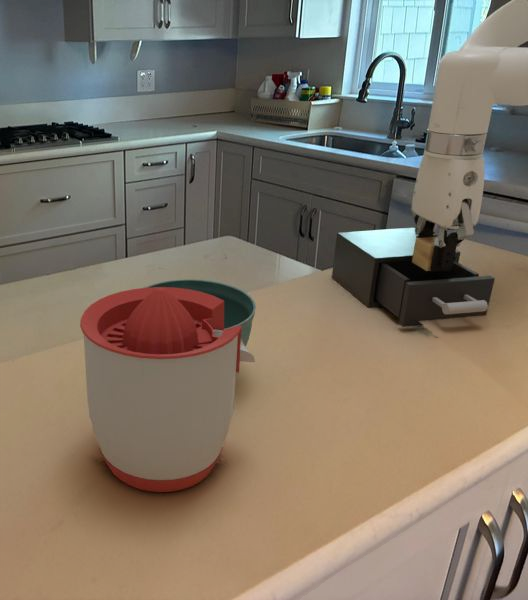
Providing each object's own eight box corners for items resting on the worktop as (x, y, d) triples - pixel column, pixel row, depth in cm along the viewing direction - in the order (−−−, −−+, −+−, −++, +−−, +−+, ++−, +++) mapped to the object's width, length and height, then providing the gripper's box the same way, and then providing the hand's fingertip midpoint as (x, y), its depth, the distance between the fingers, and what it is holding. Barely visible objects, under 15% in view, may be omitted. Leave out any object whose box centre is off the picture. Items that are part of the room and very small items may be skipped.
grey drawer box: (450, 300, 102) (460, 252, 99) (367, 307, 100) (375, 258, 97) (406, 271, 115) (413, 227, 111) (331, 277, 113) (336, 232, 109)
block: (435, 260, 97) (440, 236, 95) (451, 269, 93) (456, 244, 91) (411, 262, 96) (416, 237, 95) (426, 271, 93) (431, 246, 91)
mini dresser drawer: (504, 332, 90) (515, 289, 87) (419, 340, 88) (427, 296, 85) (436, 288, 105) (444, 250, 102) (362, 294, 103) (367, 256, 100)
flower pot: (176, 427, 72) (177, 345, 67) (106, 369, 84) (102, 296, 80) (276, 385, 79) (283, 309, 75) (198, 338, 92) (200, 270, 88)
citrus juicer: (270, 497, 61) (287, 314, 53) (95, 518, 59) (84, 331, 50) (225, 409, 75) (233, 254, 67) (83, 423, 73) (73, 265, 65)
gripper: (520, 153, 80) (490, 283, 87) (443, 134, 95) (422, 246, 103) (467, 156, 79) (441, 287, 87) (398, 136, 94) (380, 249, 102)
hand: (431, 263), depth 95 cm, fingers closed on block, 4 cm apart
